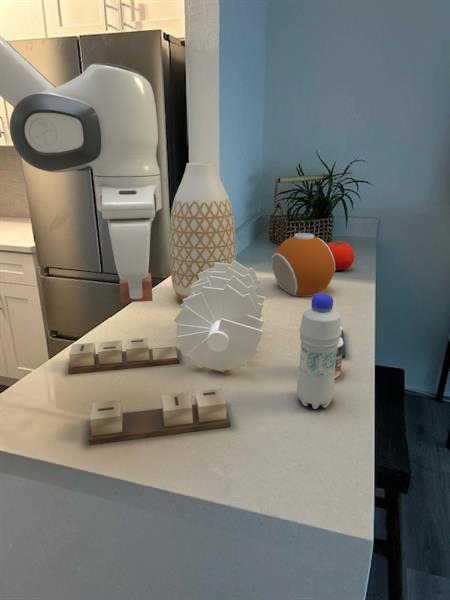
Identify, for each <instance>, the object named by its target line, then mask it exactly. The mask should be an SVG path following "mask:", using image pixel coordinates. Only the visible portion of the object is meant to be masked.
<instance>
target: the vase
mask: <svg viewBox="0 0 450 600" xmlns="http://www.w3.org/2000/svg"><path fill="white" fill-rule="evenodd" d="M173 198H174V199H173V202H172V206H171V212H170V217H169V218H170V219H169V260H170V263H169V264H170V278H171V283H172V284H171V285H172V288H173V291H174V292H175V295H176V296H177V297H178V298H179V299H180V300H181V301H183V299H185V298H188V297H189V295H190V294H191V292H190V291H191V287H192V286H191V285H192V284H194V283H195V282H197V281H198V280H199V279H200V278H199V277H198V274H199V273H201V272H203V271H206V270H208V269H210V268H212V267H213V268H214V262H215V263H225V264H232V262H233V261H234V260H235V261H236V262H237V251H236V250H237V248H236V247H237V246H236V229H235V228H236V227H235V226H236V225H235V218H234V212H233V207H232V203H231V201H230V197H229V195H228V193H227V191H226V189H225V186H224V184H223V182H222V180H221V178H220V175H219V173H218V170H217V166H216V163H215V162H187V163H186V165H185V170H184V173H183V176H182V179H181V182H180V184H179V186H178V188H177V191H176V193H175V196H174V197H173Z"/></svg>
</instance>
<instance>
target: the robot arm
mask: <svg viewBox="0 0 450 600" xmlns="http://www.w3.org/2000/svg"><path fill="white" fill-rule="evenodd" d="M0 97H1V98H2V99H3V100H5V101H6V102H7V103H8V104H9V105H10V106H11V107H13V110H12V112H11V114H10V118H9V135H10V139H11V142H12V144H13V147H14V149H15V151H16V152H17V153H18V155H19V156H20V157H21V158H22V159H23V160H24V161H25V162H26V164H28V165H30V166H32V167H34V168H35V169H37V170H41V171H44V172H48V173H55V174H56V173H58V174H59V173H69V172H74V171H77V172H87V171H91V170H93V178H94V187H95V188H94V189H95V198H96V209H97V211H99V212H100V213H101V217H102V219H103V220H107V226H108V232H109V237H110V243H111V248H112V255H113V259H114V265H115V268H116V272H117V275H118V277H119V280H120V279H122V280H127V282H128V286H129V295H130V298H131V299H140V298H142V296H143V295H142V279H144V278H146V277H147V275H148V273H149V268H150V267H149V266H150V252H151V251H150V250H151V234H152V233H151V231H152V224H153V221H154V219H155V217H156V214H157V212H158V211H160V210H162V209H163V203H162V202H163V201H162V183H161V182H162V181H161V170H160V166H159V163H158V159H157V149H158V145H159V124H158V114H157V105H156V100H155V94H154V90H153V87H152V85H151V83H150V81H149V80H148V79H147V77H145V76H144V75H143V74H142V73H141V72H139V71H138V70H136V69H135V68H134V69H132V68H130V67H129V66H124V65H120V64H116V63H110V62H95V63H92V64H90V65H88V66H87V68H86V69H85V70H84V71H83V72H82V73H80V74H79V75H78V76H76V77H74V78H73V79H71V80H69V81H67V82H65V83H63V84H61V85H58V86H55V85H54V84H53V83H52V82H51V81H50V80H49V79H47V77H45V75H43V74H42V73H41V71H39V70H38V69H37V68H35V67H34V66H33V64H32V63H31V62H30V61H28V60H27V59H26V58H25V57H24V56H23V55H22V54H21V53H19V51H17V50H16V49H15V47H13V46H12V45H11V44H10V43H9V42H8V41H7V40H6V39H5V38H4V37H3V36H1V35H0Z"/></svg>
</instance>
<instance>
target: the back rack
mask: <svg viewBox="0 0 450 600" xmlns="http://www.w3.org/2000/svg"><path fill="white" fill-rule="evenodd" d="M97 349H98V350H97V351H96V344H95V342H86V343H84V342H83V343H76V344H75V343H74V344H71V347H70V351H69V354H68V355H69V365H68V369H67V372H68V375H74V374H84V373H85V374H86V373H94V372H105V371H113V370H123V369H124V370H125V369H135V368H145V367H153V366H165V365H175V364H180V357H179V352H178V347H177V346H168V347H167V346H166V347H157V348H150V346H149V337H145V338H144V337H143V338H131V339H126V343H125V350H123V342H122V339H121V340H111V341H99V343H98V348H97Z"/></svg>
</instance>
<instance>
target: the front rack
mask: <svg viewBox="0 0 450 600" xmlns="http://www.w3.org/2000/svg"><path fill="white" fill-rule="evenodd" d="M122 405H123V404H122V399H117V400H116V399H115V400H108V401H100V402H99V401H98V402H92V403H91V409H90V416H89V424H90V425H89V430H88V437H87V440H88V441H87V442H88V445H89V446H91V445H98V444H106V443H114V442H122V441H123V442H124V441H131V440H137V439H144V438H145V439H146V438H152V437H153V438H154V437H160V436H161V437H162V436H168V435H176V434H184V433H193V432H200V431H208V430H215V429H224V428H230V427H231V419H230V416H229V414H228V410H227V401H226V398H225V396H224V393H223V390H222V388H216V389H215V388H214V389H208V390H207V389H206V390H198V391H194V404H192V401H191V396H190V392H189V391H188V392H179V393H178V392H177V393H171V394H170V393H169V394H162V395H161V407H162V408H154V409H153V408H152V409H145V410H136V411H128V412H127V411H126V412H123V406H122Z"/></svg>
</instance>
